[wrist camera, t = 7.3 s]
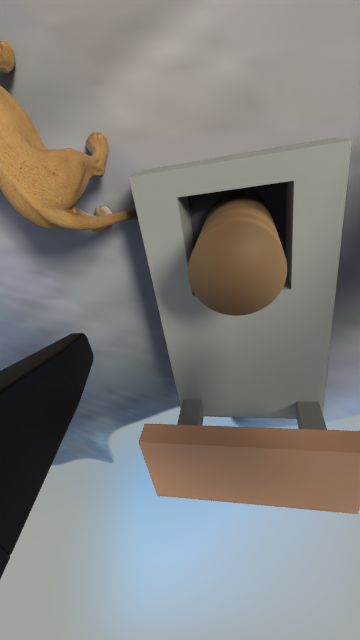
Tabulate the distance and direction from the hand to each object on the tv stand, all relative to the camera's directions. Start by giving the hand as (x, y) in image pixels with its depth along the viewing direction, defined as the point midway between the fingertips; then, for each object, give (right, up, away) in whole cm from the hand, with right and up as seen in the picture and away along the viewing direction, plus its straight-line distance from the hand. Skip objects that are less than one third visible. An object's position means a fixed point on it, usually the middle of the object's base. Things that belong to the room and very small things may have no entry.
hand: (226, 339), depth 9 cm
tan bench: (+4, -3, +15) cm, 15 cm away
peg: (+2, +6, +9) cm, 12 cm away
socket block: (+3, +2, +12) cm, 12 cm away
